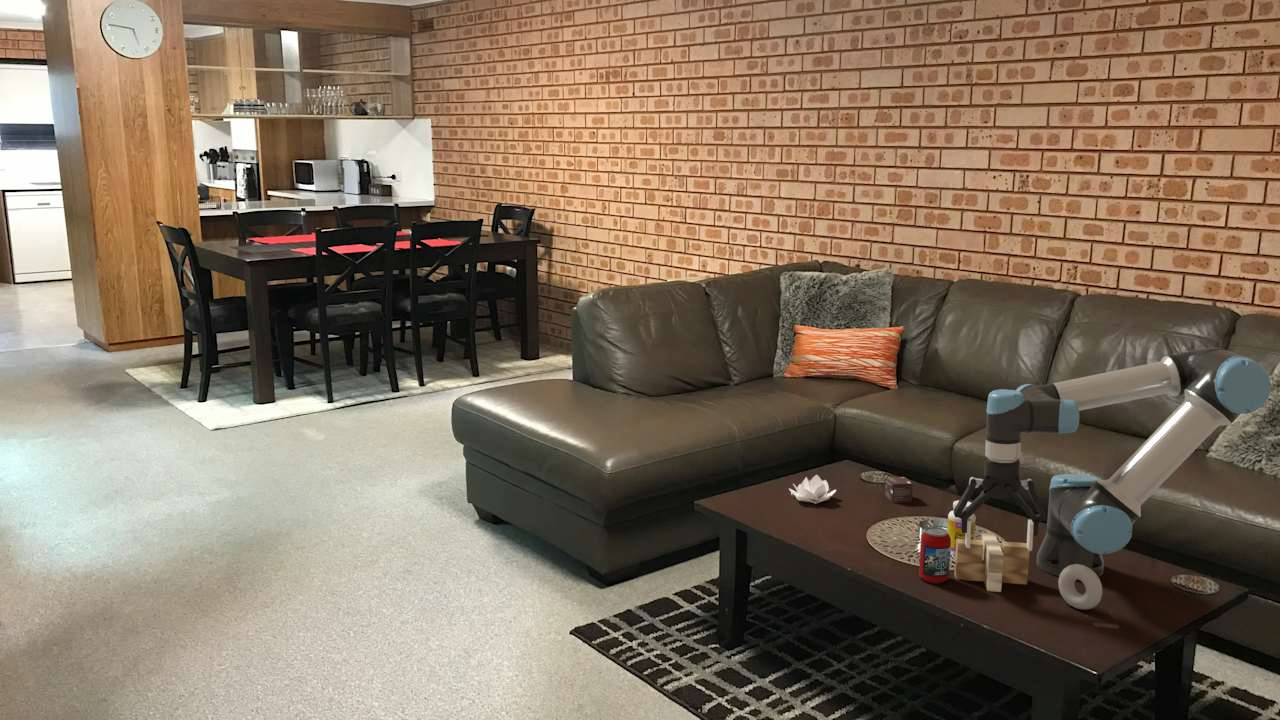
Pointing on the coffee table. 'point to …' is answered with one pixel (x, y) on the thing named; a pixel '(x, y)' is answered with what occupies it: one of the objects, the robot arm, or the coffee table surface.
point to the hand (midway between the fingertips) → (998, 547)
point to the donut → (1090, 582)
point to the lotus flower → (812, 490)
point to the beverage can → (935, 555)
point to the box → (898, 489)
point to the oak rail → (973, 564)
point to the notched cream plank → (992, 562)
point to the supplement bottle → (958, 527)
